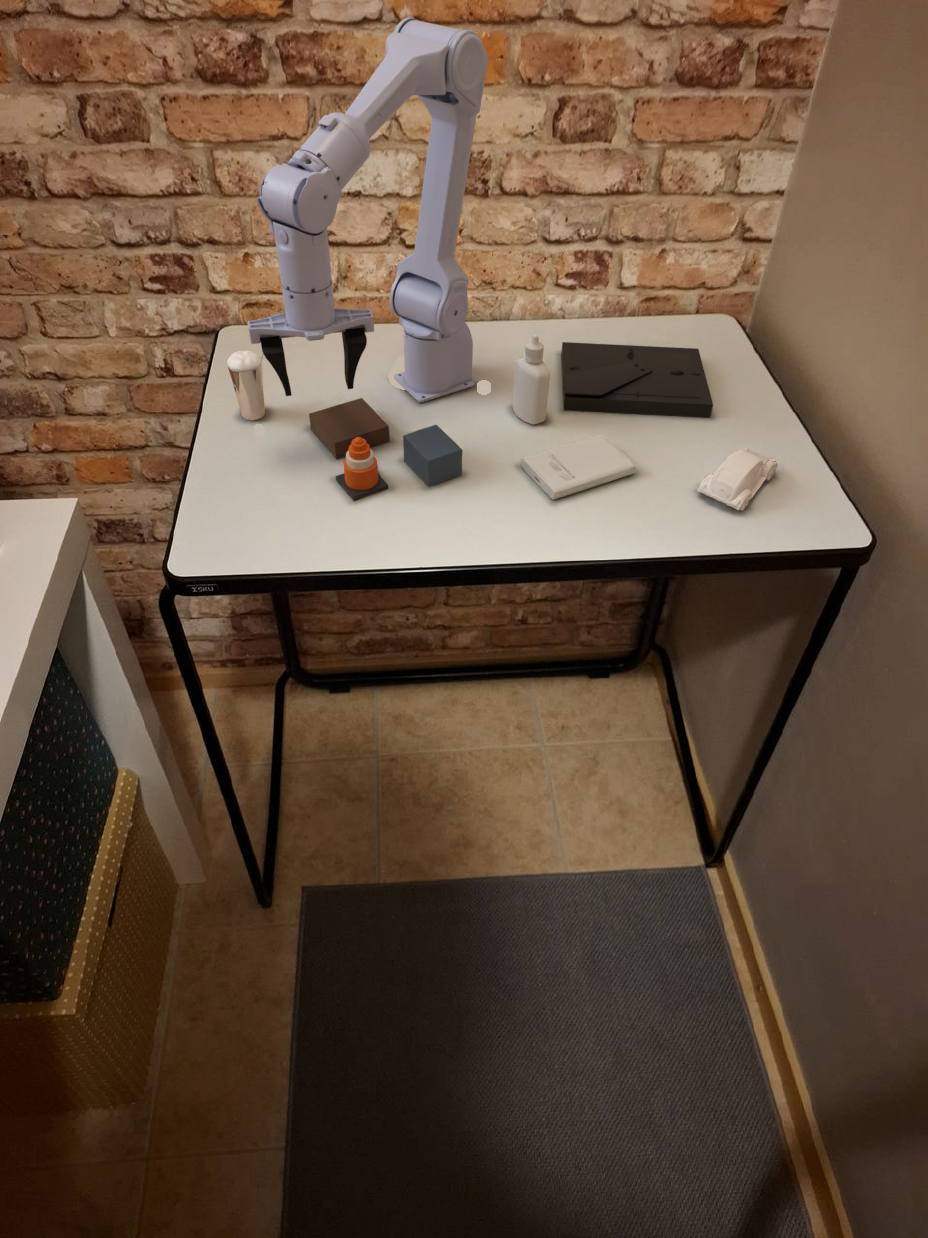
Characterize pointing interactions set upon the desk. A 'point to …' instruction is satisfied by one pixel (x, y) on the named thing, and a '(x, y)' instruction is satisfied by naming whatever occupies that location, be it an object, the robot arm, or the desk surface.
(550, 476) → the hard drive
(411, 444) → the blue block
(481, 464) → the desk surface
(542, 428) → the desk surface
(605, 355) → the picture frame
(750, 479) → the car
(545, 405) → the eye dropper bottle
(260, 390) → the milkshake
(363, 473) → the cone
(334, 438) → the base block
